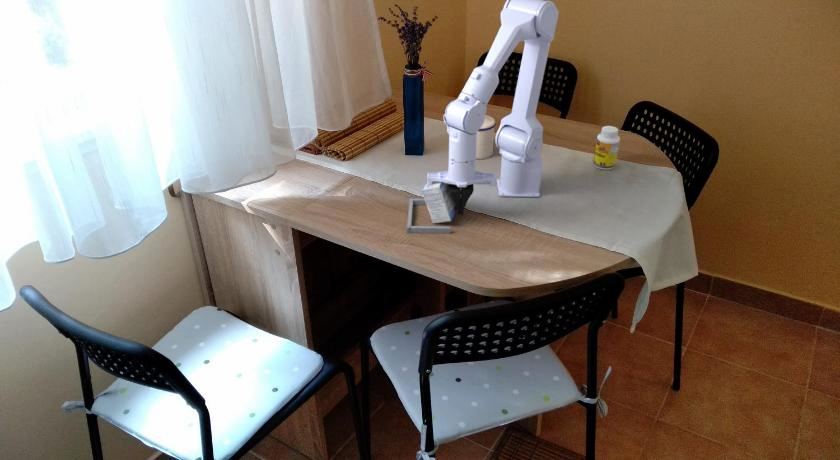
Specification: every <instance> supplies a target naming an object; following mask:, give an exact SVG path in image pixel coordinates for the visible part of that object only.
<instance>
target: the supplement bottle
mask: <svg viewBox="0 0 840 460" xmlns="http://www.w3.org/2000/svg"><path fill="white" fill-rule="evenodd" d="M618 134H619V128H618V127H616V126H613V125H605V126H603V127H602V128H601V131H600V133H599V134H598V135H597V136H596V137H597V138H596V141H595V142H596V143H595V149H594V153H593V160H592V164H593V166H594V167H595V168H597V169H598V170H602V171H607V170H608V171H609V170H612V169H614V168H615V167H616V163H617V157H618V153H619V148H620V142H621V137H620V136H619V135H618Z"/></svg>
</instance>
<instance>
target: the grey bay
mask: <svg viewBox="0 0 840 460" xmlns="http://www.w3.org/2000/svg"><path fill="white" fill-rule="evenodd" d="M414 206H427V205H426V202H425V199H424V198H412V197H411V198H409V201H408V214H407V225H406V233H409V234H413V233H414V234H451V226H443V225H442V226H440V225H439V226H438V225H437V226H436V225H435V226H433V225H432V226H430V225H429V226H428V225H412V223H413V212H414V211H413V208H414Z"/></svg>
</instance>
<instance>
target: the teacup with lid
mask: <svg viewBox="0 0 840 460" xmlns="http://www.w3.org/2000/svg"><path fill="white" fill-rule="evenodd" d="M495 127H496V121H495V118H493V117H491V115H487V114H485V119H484V123H483V125H482V126H481V128H480V129H479V130H478V131H477V147H476V160H484V159H488V158H489V157H492V155H493V154H494V141H495V140H494V139H495Z"/></svg>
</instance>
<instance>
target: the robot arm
mask: <svg viewBox="0 0 840 460" xmlns="http://www.w3.org/2000/svg"><path fill="white" fill-rule="evenodd" d="M559 13H560V12H559V10H558V8H557V7H556V4H555V3H554V2H552V1H550V0H506V1H505V3H504V5H503V8H502V10H501V11H500V24H501V26H500V27H499V29H498V31H497V34H496V36H495V38H494V40H493V42H492V45H491V47H490V49H489V51H488V52H487V56H486V57H485V60H484V62H483V64H482V65H480V66H477V67H474V68H473V70H472V72H471V74H470V76H469V78H468V80H467V81H466V83H465V85H464V87H463V89H462V90H461V92H460V93H459V95H458V97H457V98H456V99H455V100H452V101H450V103H448V105H447V106H446V108H445V111H444V114H443V115H442V117H443V122H444V124H445V126H446V133H448V136H449V137H448V169H447V170H445V171H444V170H443V171H436V172H427V180H426V181H427V182H426V183H427V185H432V184H433V183H436V182H443V183H445V184H449V190H450V193H451V195H452V197H453V199H454V201H455V204H456V207H457V211H456V212H457V216H463V215H464V211H465V208H466V205H467V203H468V201H469V199H470V197H471V196H472V195H473V193H474V188H475V187H474V185H490V186H491V187H496V186H497V192H498V197H502V198H503V197H504V198H505V197H509V198H511V197H512V198H513V197H516V198H518V197H519V198H521V197H522V198H539V197H540V190H541V182H542V174H543V159H542V155H540V153H541V152H542V149H543V145H544V142H543V141H544V140H543V134H544V133H543V132H544V127H543V125H542V124H541V123H540V121H539V120H538V119H537V117H536V114H537V110H538V109H537V107H538V104H539V99H540V94H541V89H542V85H543V80H544V75H545V71H546V67H547V66H546V65H547V61H548V57H549V52H550V51H549V50H550V46H551V43H552V42H553V41H554V38H555V33H556V28H557V23H558V19H559ZM520 42H524V47H523V51H522V58H521V63H520V68H519V71H518V72H519V73H518V77H517V78H518V79H517V83H516V87H515V93H514V98H513V103H512V107H511V108H512V109H511V113H510V114H508V115H506V116H504V117H502V119H501V120H500V125H499V127H498V129H497V131H496V133H495V136H494V139H495V140H494V141H495V146H496V147H497V148H498V149H499V154H500V155H501V160H500V161H501V162H500V163H501V164H500V165H501V166H500V176H499V178H497V175H496V173H488V172H480V171H477V170H476V165H477V159H476V147H477V131H478V130H479V129H480V128H481V126H482V125H483V123H484V119H485V115H486V113H487V110H488V109H487V108H488V107H487V105H488V104H489V101H490V99H491V97H492V96H493V94H494V93H495V90H496V89H497V86H498V85H499V83H500V79H499V73H500V71H501V70H502V68H503V66H504V65H505V64H506V61H507V60H508V59H509V57H510V56H511V54H512V53H513V51H514V50H515V49H516V47H517V46H518V44H519V43H520Z"/></svg>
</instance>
